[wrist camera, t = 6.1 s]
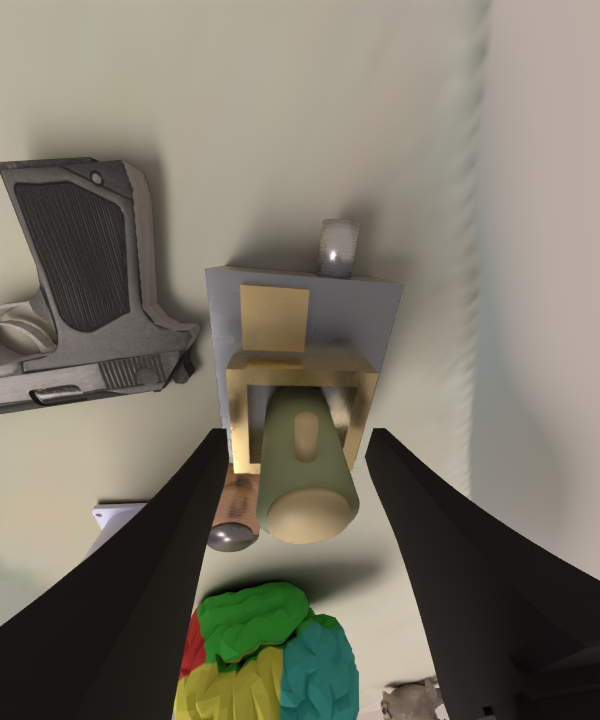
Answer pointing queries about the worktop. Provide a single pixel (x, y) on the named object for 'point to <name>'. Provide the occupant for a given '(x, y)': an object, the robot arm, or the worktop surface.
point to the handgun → (90, 287)
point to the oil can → (303, 470)
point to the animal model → (412, 702)
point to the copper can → (236, 513)
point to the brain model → (266, 660)
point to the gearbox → (299, 341)
